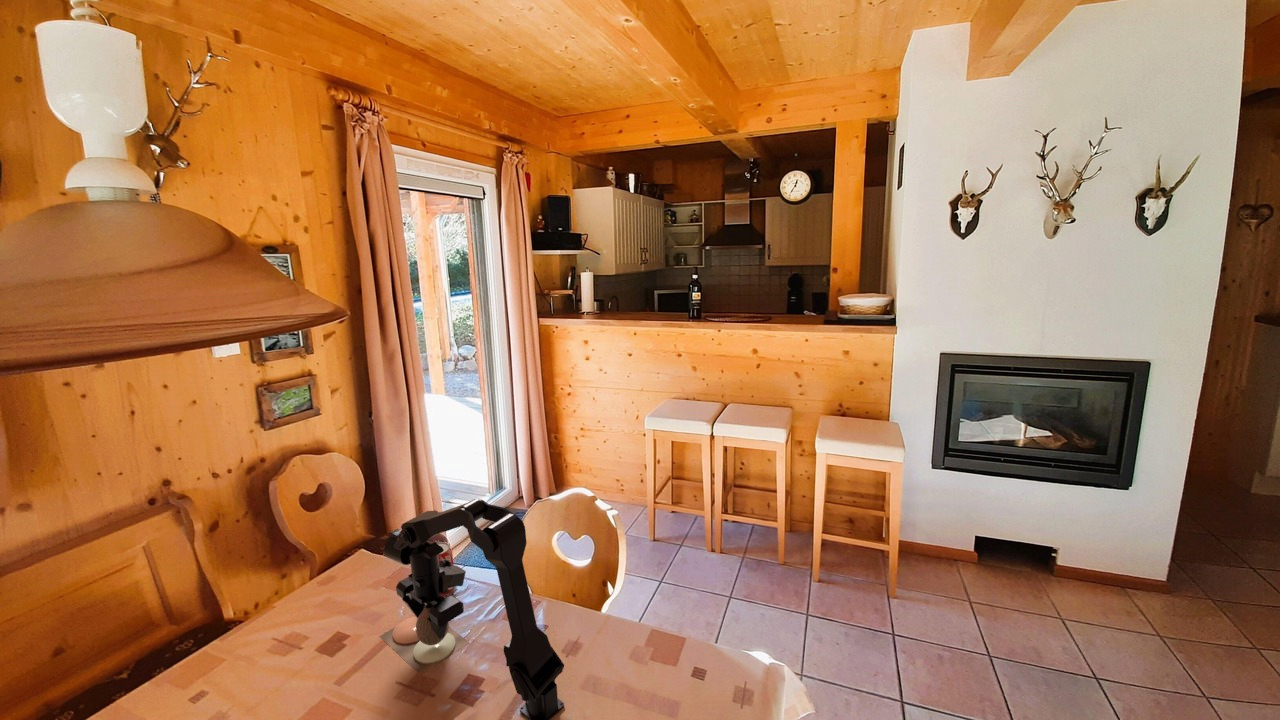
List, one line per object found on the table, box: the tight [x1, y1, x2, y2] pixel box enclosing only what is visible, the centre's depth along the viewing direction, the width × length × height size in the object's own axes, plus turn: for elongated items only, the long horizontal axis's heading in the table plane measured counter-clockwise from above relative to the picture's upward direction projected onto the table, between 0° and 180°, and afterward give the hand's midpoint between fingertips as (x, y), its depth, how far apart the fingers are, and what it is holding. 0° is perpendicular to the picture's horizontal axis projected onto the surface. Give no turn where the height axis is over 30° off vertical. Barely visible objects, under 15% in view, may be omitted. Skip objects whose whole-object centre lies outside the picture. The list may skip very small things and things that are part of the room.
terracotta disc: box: [393, 615, 420, 644], centre depth 125 cm, size 9×9×1 cm
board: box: [378, 626, 470, 676], centre depth 122 cm, size 19×12×1 cm, turn 51°
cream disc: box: [413, 633, 456, 664], centre depth 119 cm, size 9×9×1 cm
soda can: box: [436, 541, 457, 597], centre depth 140 cm, size 7×7×13 cm
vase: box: [416, 603, 450, 645], centre depth 118 cm, size 7×7×9 cm
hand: (433, 630), depth 118 cm, fingers closed on vase, 7 cm apart
